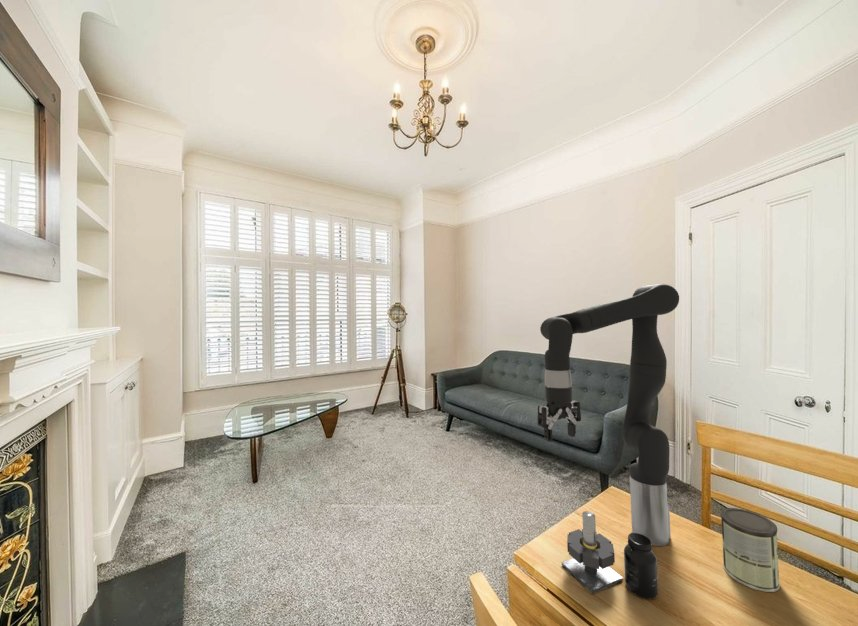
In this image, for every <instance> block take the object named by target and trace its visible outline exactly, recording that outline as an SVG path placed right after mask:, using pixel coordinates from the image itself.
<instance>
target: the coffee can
mask: <svg viewBox="0 0 858 626" xmlns="http://www.w3.org/2000/svg"><path fill="white" fill-rule="evenodd" d="M719 513H720V519H721V534H722V537H721V538H722V554H723V555H722V558H723V559H722V560H723V569H724V571H725V572H726V574H727V575H728V576H730V577H731V578H732V579H733V580H734V581H736V582H738V583H739V584H741V585H744V586H746V587H747V588H750V589H753V590H756V591H759V592H764V593H775V592H777V591H779V590H780V588H781V585H780V574H779V573H780V572H779V571H780V570H779V557H778V556H779V555H778V554H779V553H778V552H779V551H778V537H777V536H778V535H777V534H778V527H777V525H776V523H774V522H773V521H772V520H770V519H769V518H768V517H766V516H764V515H761V514H759V513H757V512H753V511H750V510H747V509H742V508H737V507H726V508H723V509H721V510H720V512H719Z"/></svg>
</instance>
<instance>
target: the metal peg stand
mask: <svg viewBox="0 0 858 626" xmlns="http://www.w3.org/2000/svg"><path fill="white" fill-rule="evenodd" d="M582 529H583V546H584V547H585V548H587V549H591V550H597V543H596V532H597V529H596V515H595V513H593V512H592V511H588V510H586V511H582ZM561 566H562V567H563V568H564V569H565V570H566V571H567V572H568V573H569V574H571V576H572V577H574V578H575V579H576V580H577V581H578V582H579V583H580V584H581V585H582V586H583V587H585V589H586V590H588V592H589V593H590V594H591V595H594V594H596V593H599V592H600V591H603V590H604V589H607V588H610V587H611V586H615V585H616V584H618V583H620V582H623V580H624V579H623V576H621V575H620V574H619V573H617V572H616V571H615V570H614V569H612V568H611V566H609V567H607V568H604V569H602V568H601V567H600V566H599V569H597V568H593V567H588V566H584V565H583V562H582V563H579V562H577V561H576V560H575V559H574V558H573V557H571V558H569V559H567V560H565V561H561Z"/></svg>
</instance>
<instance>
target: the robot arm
mask: <svg viewBox="0 0 858 626" xmlns="http://www.w3.org/2000/svg"><path fill="white" fill-rule="evenodd" d="M679 303H680V295H679V292H678V290H677V289H676V288H674V287H673V286H672V285H669V284H665V283H656V284H650V285H649V284H647V285H644V286H642V285H641V286H640V287H638V288H636V290H635V291H634V293H633V294H632V296H631V297H628V298H623V299H619V300H615V301H611V302H610V301H609V302H605V303H601V304H596V305H591V306H588V307H586V308H582V309H579V310H576V311H574V312H570V313H565V314H559V315H555V316H551V317H548V318H546V319H545V320H543V322H541V324H540V329H539V330H540V333H541V335H542V337H543V338H544V339H547V340H548V349H547V350H545V353H544V393H545V395H544V396H545V397H544V398H545V400H546V405H544V406H543V405H538V406H537V426H538V427H541V428H543V435H544V437H543V438H544V440H546V441H547V442H549V443H552V442H553V429H552V428H553V427H554V424H556V423H557V422H558V420H561V419H565V420H566V421H567V435H568V436H570V437H571V438H574V437H576V434H577V430H576V429H577V428H576V425H577V423H578V422H581V421H582V414H581V404H580V401H577V400H573V383H572V381H573V380H572V372H571V357H570V353H571V349H572V343H573V337H574V336H573V335H576V334H586V333H589V332H593V331H596V330H600V329H603V328H606V327H610V326H612V325H616V324H619V323H622V322H626V321H629V320H630V321H631V320H632V322H631V324H632V336H631V351H630V352H631V353H630V362H629V381H628V382H629V383H628V391H627V392H628V393H627V395H628V396H627V404H626V410H625V416H624V419H623V420H624V421H623V425H622V439H623V441H624V444H625V446H627V447H628V448H629V449H631V450H632V451H634V452H636V453H637V454H638V455H637V458H638V460H637V462H634V463H631V464H630V465H629V467H628V468H629V469H628V470H629V490H630V493H629V494H630V514H631V533H638V534H642V535H644V536H646V537H647V538H649V539H650V541H651V546H656V547H663V546H667V545H668V544H669V542H670V539H671V515H670V505H669V504H668V492H667V491H668V490H667V477H668V475H669V472H670V454H671V453H670V451H671V450H670V442H669V438H668V436H667V434H666V432H664V431H663V430H662V429H660V428H658V427H655V426H654V425H652V424H651V423H650V422H651V421H650V420H651V419H650V418H651V409H652V406H653V403H654V401H655V399H657V397H658V396H659V394H660V393H661V391H662V389H663V388H664V386H665V384H666V378H667V362H668V361H667V357H666V354H665V350H664V348H663V344H662V343H661V341H660V338H659V336H658V316H662V315H663V316H664V315H667V314H669V313H671V312H673V311H674V310H676V308H677V307H678V305H679Z"/></svg>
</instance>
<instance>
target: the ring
mask: <svg viewBox="0 0 858 626" xmlns="http://www.w3.org/2000/svg"><path fill="white" fill-rule="evenodd" d="M566 543H567V545H566V547H567V553H568V555H569V556H571V558H574V559H575V560H576V561H577V562H579V563H582V562H583V565H584V566H588V567H593V568H597V569H599V566H600V567H601V568H602V569H604V568H607V567H612V566H614V564H615V562H616V561H615V560H616V559H615V557H616V556H615V550H614V549H615V548H614V543H612V541H611V540H610V539H608V538H607V537H606V536H604V535H602V534H601V533H600V532H599V533H597V531H596V543H597V550H591V549H587V548H585V547H584V546H583V528H582V529H575V530H573V531H570V532H568V533H567V539H566Z"/></svg>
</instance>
